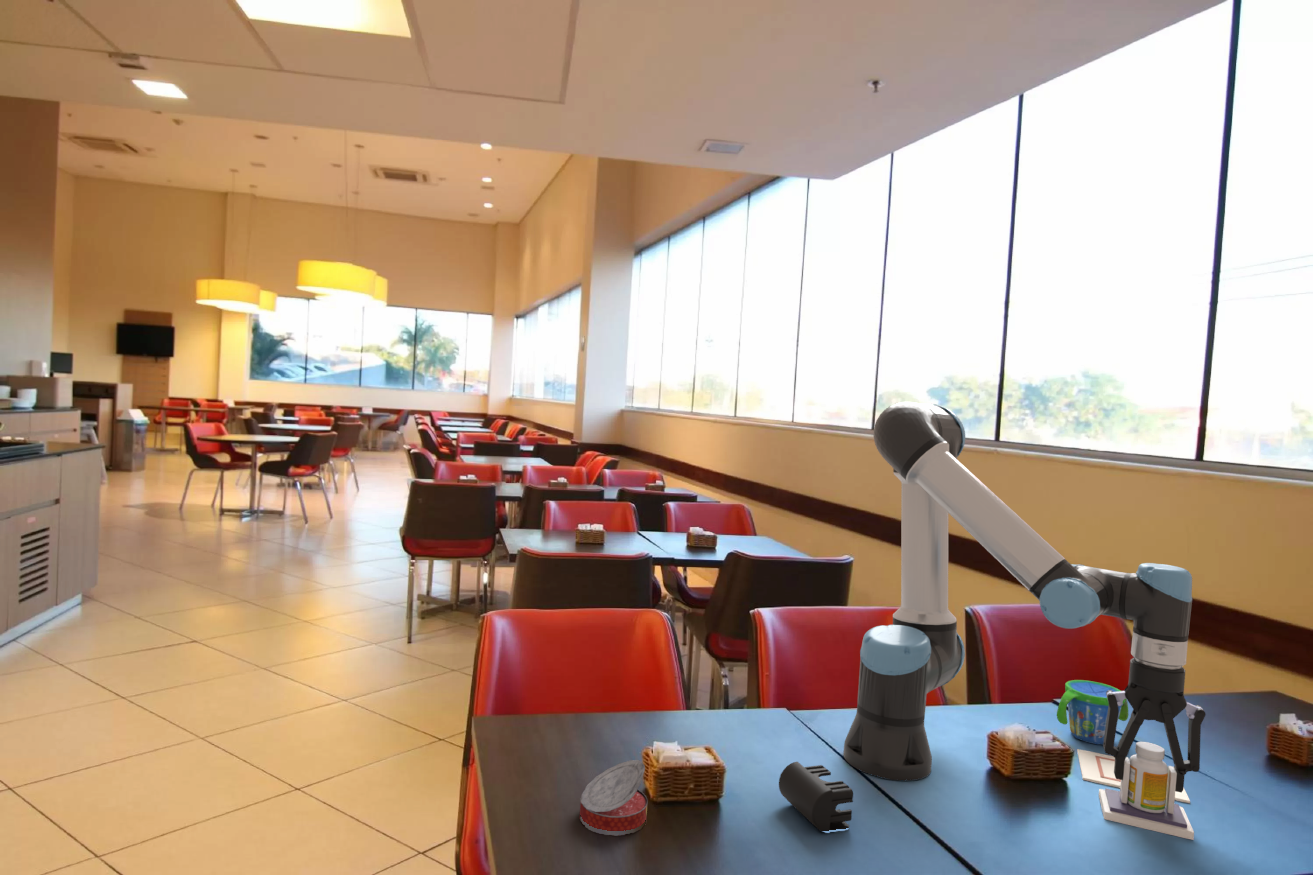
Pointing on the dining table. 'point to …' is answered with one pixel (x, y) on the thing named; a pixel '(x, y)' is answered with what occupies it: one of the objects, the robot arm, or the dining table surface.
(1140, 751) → the supplement bottle
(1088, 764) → the cream flat board
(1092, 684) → the snack cup
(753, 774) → the dining table surface
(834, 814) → the end cap
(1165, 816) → the ink pad
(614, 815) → the canned food
